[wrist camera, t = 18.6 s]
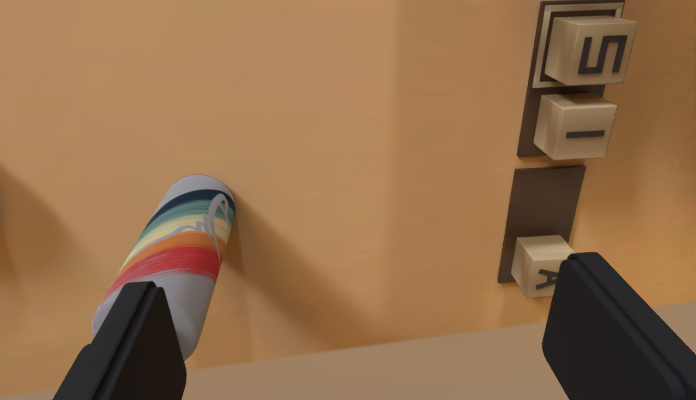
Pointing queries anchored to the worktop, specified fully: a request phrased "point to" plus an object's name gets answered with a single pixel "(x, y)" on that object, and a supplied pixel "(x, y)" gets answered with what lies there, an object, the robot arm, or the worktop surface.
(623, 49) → the tile
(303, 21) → the worktop surface
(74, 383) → the robot arm
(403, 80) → the worktop surface
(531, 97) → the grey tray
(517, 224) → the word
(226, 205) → the lotion bottle
